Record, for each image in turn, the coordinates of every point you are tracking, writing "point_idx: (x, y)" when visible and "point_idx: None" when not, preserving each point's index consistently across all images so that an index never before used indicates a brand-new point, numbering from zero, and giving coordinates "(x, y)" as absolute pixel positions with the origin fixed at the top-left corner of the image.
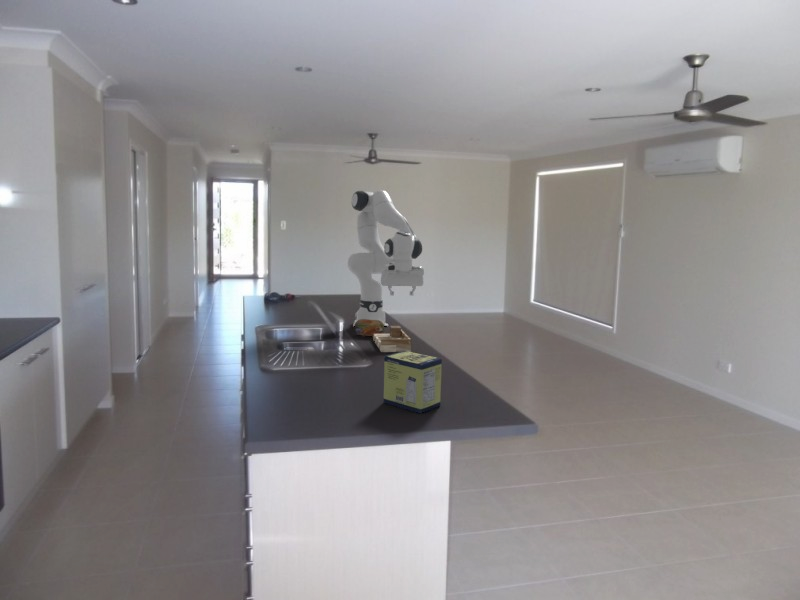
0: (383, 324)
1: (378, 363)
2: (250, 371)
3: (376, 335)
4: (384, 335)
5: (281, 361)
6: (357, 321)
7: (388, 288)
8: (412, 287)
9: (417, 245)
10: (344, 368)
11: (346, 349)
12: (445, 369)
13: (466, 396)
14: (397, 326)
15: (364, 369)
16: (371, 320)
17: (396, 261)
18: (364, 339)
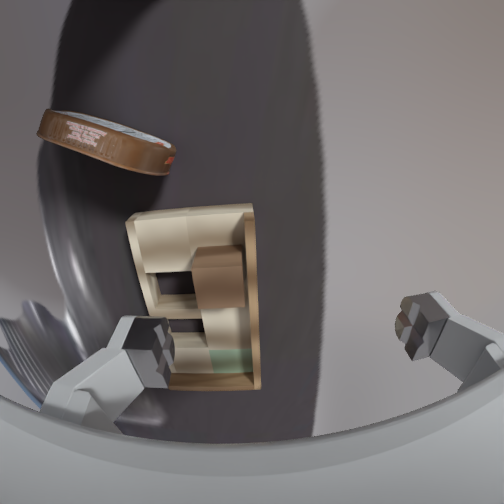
0: (161, 154)
1: (177, 417)
2: (33, 401)
3: (140, 254)
4: (173, 254)
5: (32, 378)
6: (38, 131)
7: (68, 385)
8: (474, 375)
9: None
10: (128, 424)
11: (83, 331)
12: (294, 434)
13: None
14: (230, 281)
15: (159, 431)
16: (89, 150)
17: None
18: (102, 201)
